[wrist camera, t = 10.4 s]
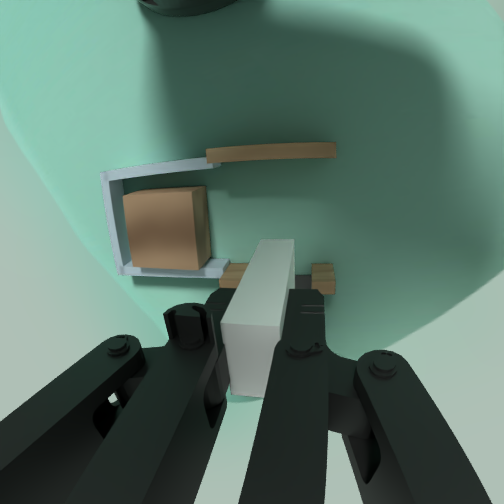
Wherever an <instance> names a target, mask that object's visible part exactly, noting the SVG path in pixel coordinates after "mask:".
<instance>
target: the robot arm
mask: <svg viewBox="0 0 504 504" xmlns="http://www.w3.org/2000/svg"><path fill="white" fill-rule="evenodd" d="M138 1H139V2H140V3H142V4H143V5H145V6H146V7H147V8H149V9H150V10H152V11H154V12H157V13H159V14H163V15H168V16H192V15H198V14H203V13H207V12H211V11H214V10H217V9H220V8H222V7H225V6H227V5H229V4H231V3H233V2H235V1H237V0H138ZM163 316H164V320H165V324H166V328H167V332H168V336H169V340H168V342H167V343H166V345H165V346H162V347H152V348H142V347H141V344H140V342H139V340H138V339H137V338H136V337H134V336H131V335H117V336H114V337H110V338H109V339H107V340H105V341H104V342H102V343H101V344H100V345H98V346H97V347H96V348H94V349H93V350H92V351H90V352H89V353H88V354H86V355H85V356H84V357H82V358H81V359H80V360H79V361H77V362H76V363H75V364H73V365H72V366H71V367H70V368H69V369H67V370H66V371H64V372H63V373H62V374H60V375H59V376H58V377H57V378H55V379H54V380H53V381H51V382H50V383H49V384H48V385H46V386H45V387H44V388H42V389H41V390H40V391H38V392H37V393H36V394H35V395H33V396H32V397H31V398H30V399H28V400H27V401H26V402H24V403H23V404H22V405H21V406H19V407H18V408H17V409H16V410H14V411H13V412H12V413H11V414H9V415H8V416H7V417H6V418H4V419H3V420H2V421H0V504H194V501H195V498H196V495H197V493H198V490H199V487H200V484H201V482H202V478H203V476H204V473H205V470H206V467H207V464H208V461H209V459H210V455H211V452H212V450H213V447H214V444H215V441H216V438H217V435H218V432H219V429H220V426H221V423H222V420H223V417H224V414H225V411H226V408H227V399H226V392H227V389H228V386H229V384H230V390H231V395H240V396H251V397H262V398H264V401H263V404H262V409H261V413H260V418H259V422H258V427H257V431H256V435H255V440H254V443H253V447H252V451H251V456H250V460H249V464H248V468H247V472H246V476H245V480H244V483H243V487H242V491H241V495H240V498H239V503H238V504H324V499H325V486H326V469H327V447H328V446H327V445H328V430H330V431H333V432H337V433H341V434H342V438H343V441H344V444H345V447H346V450H347V453H348V457H349V460H350V463H351V466H352V469H353V472H354V475H355V479H356V482H357V485H358V488H359V491H360V495H361V498H362V501H363V504H492V503H491V500H490V499H489V497H488V495H487V493H486V491H485V489H484V487H483V485H482V483H481V481H480V479H479V477H478V476H477V474H476V472H475V470H474V468H473V467H472V465H471V463H470V461H469V459H468V458H467V456H466V454H465V453H464V451H463V449H462V447H461V446H460V444H459V442H458V440H457V439H456V437H455V435H454V434H453V432H452V430H451V429H450V427H449V425H448V424H447V422H446V420H445V419H444V417H443V416H442V414H441V412H440V411H439V409H438V408H437V406H436V404H435V403H434V401H433V400H432V398H431V397H430V395H429V394H428V392H427V391H426V389H425V388H424V386H423V384H422V383H421V381H420V380H419V378H418V377H417V375H416V374H415V372H414V371H413V369H412V368H411V367H410V365H409V364H408V362H407V361H406V360H405V359H404V358H403V357H402V356H401V355H399V354H397V353H394V352H392V351H387V350H373V351H370V352H367V353H365V354H364V355H362V356H361V357H360V358H359V359H358V361H355V360H351V359H346V358H343V357H340V356H338V355H336V354H335V353H333V352H332V351H331V350H330V349H329V348H328V346H327V345H326V340H325V315H324V296H323V295H322V294H321V293H320V292H319V290H318V289H295V247H294V239H261V240H260V242H259V244H258V246H257V248H256V250H255V252H254V254H253V256H252V258H251V260H250V262H249V264H248V266H247V269H246V271H245V273H244V275H243V277H242V279H241V281H240V283H239V285H238V287H237V288H219V289H218V290H216V291H215V292H213V293H212V294H211V295H210V296H209V298H208V299H207V301H206V303H205V304H204V305H203V304H199V303H184V304H180V305H176V306H174V307H172V308H170V309H168V310H167V311H166V312H164V313H163ZM113 393H115V395H116V397H117V399H118V400H117V401H115V402H113V403H110V402H109V400H108V397H109V396H111V395H112V394H113Z"/></svg>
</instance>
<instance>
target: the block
mask: <svg viewBox="0 0 504 504" xmlns="http://www.w3.org/2000/svg"><path fill="white" fill-rule="evenodd" d="M123 205H124V212H125V220H126V227H127V234H128V240H129V247H130V253H131V259H132V264H133V267H143V268H161V269H181V270H200V268H201V267H202V266H203V265H204V264H205V263H206V261H207V260H208V259H209V258H210V257H211V245H210V233H209V221H208V207H207V193H206V186H187V187H170V188H154V189H142V190H139V191H136V192H133V193H130V194H127V195H124V196H123Z"/></svg>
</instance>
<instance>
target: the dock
mask: <svg viewBox="0 0 504 504" xmlns="http://www.w3.org/2000/svg"><path fill="white" fill-rule="evenodd" d="M217 167H221V163H209V164H207V159H206V157H201V158H192V159H183V160H175V161H167V162H159V163H152V164H145V165H139V166H132V167H126V168H120V169H115V170H110V171H105V172H100V177H101V185H102V192H103V199H104V206H105V212H106V218H107V224H108V230H109V235H110V240H111V245H112V250H113V255H114V260H115V264H116V269H117V273H118V275H131V276H157V277H187V278H221V276H222V275H223V273H224V272H225V270H226V269H227V267H228V265H229V264H230V259H208V260H207V261H206V263H205V264H204V265H203V266H202V267H201V268H200V270H181V269H161V268H143V267H133V264H132V259H131V253H130V247H129V240H128V234H127V227H126V220H125V212H124V205H123V196H124V188H123V180H122V179H125V178H132V177H139V176H146V175H154V174H162V173H171V172H180V171H190V170H200V169H212V168H217Z"/></svg>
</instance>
